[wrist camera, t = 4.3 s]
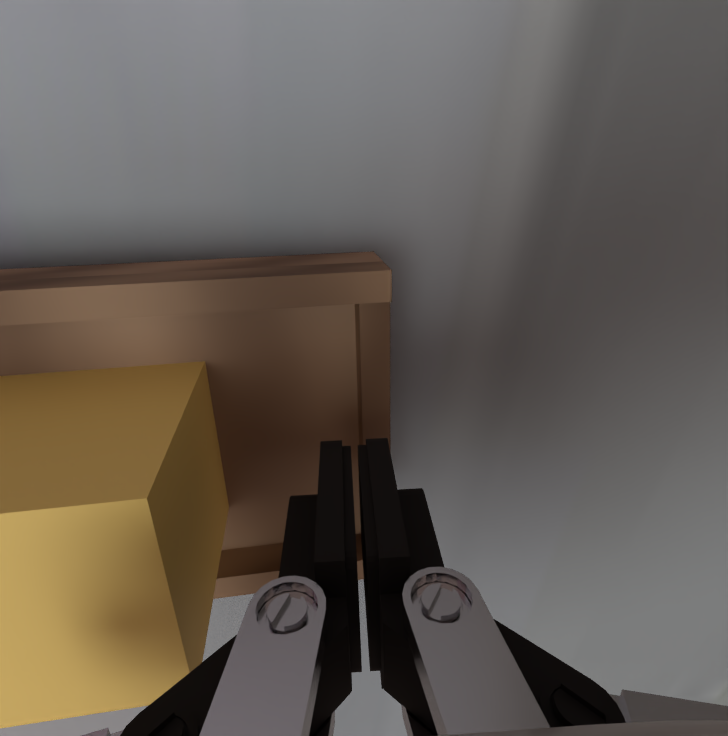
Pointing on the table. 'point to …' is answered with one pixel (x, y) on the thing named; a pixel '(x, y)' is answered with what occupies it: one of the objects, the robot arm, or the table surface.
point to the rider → (105, 536)
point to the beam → (230, 366)
